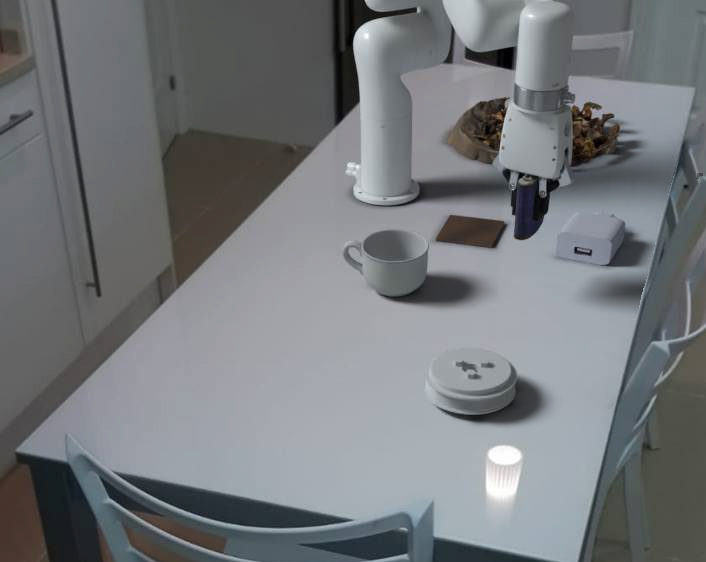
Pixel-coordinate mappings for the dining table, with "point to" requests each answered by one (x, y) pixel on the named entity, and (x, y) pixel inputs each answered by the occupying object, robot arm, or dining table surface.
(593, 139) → the food dish
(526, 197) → the dark blue piece
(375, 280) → the teacup
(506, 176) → the robot arm
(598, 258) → the charger
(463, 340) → the dining table surface
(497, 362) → the lid
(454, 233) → the board
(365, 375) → the dining table surface
